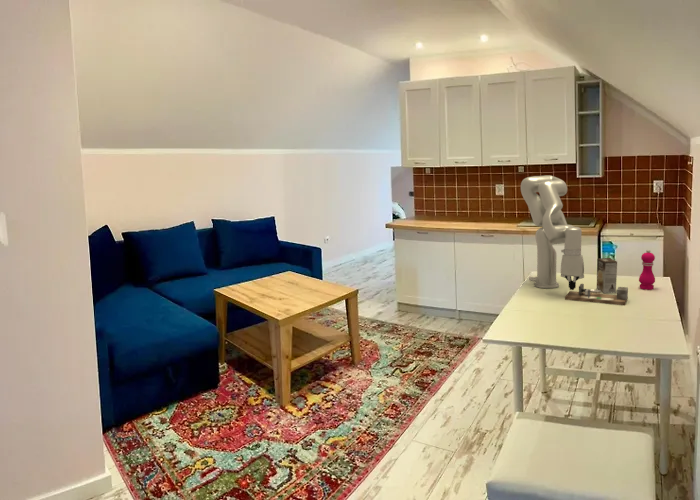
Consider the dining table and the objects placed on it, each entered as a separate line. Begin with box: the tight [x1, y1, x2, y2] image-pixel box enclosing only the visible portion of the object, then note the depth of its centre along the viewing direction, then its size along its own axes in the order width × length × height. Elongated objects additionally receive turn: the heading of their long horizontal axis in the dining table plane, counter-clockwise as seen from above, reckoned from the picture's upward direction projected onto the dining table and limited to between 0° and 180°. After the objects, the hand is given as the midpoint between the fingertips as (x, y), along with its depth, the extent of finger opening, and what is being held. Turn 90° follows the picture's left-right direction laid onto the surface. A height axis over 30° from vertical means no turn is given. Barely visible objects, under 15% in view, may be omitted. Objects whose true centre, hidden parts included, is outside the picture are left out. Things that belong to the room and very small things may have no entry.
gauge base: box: [564, 286, 629, 306], centre depth 261 cm, size 26×11×6 cm, turn 57°
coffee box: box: [596, 257, 618, 294], centre depth 273 cm, size 9×6×16 cm
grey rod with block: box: [578, 283, 602, 295], centre depth 263 cm, size 9×8×4 cm
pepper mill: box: [638, 249, 656, 291], centre depth 273 cm, size 7×7×20 cm
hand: (572, 289), depth 268 cm, fingers closed
